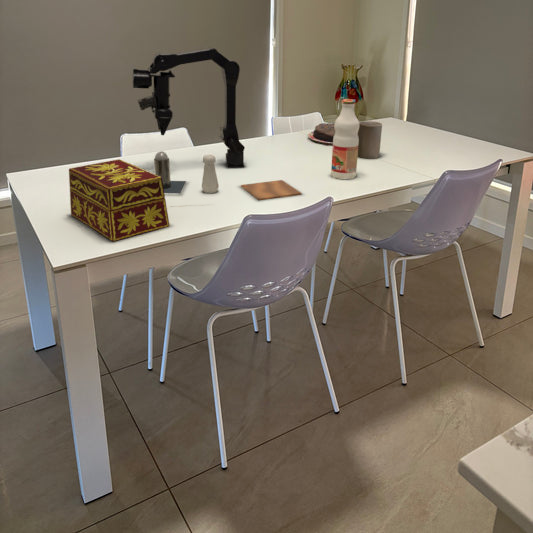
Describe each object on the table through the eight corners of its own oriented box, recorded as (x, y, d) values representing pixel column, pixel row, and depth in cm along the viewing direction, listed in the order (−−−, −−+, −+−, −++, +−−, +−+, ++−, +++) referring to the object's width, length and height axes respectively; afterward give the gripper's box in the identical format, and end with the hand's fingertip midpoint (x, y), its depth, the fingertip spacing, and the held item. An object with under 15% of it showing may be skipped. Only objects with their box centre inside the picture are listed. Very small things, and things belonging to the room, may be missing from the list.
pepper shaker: (170, 184, 209) (168, 149, 204) (170, 188, 204) (168, 153, 199) (156, 184, 208) (153, 150, 203) (155, 189, 204) (153, 154, 198)
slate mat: (186, 182, 213) (186, 181, 212) (180, 195, 200) (180, 193, 200) (147, 181, 213) (147, 180, 213) (139, 194, 200) (139, 192, 200)
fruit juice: (357, 179, 218) (363, 102, 206) (332, 179, 218) (336, 102, 206) (354, 172, 226) (360, 97, 214) (329, 172, 226) (334, 97, 214)
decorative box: (70, 214, 182) (63, 167, 175) (124, 202, 193) (120, 157, 186) (112, 241, 163) (107, 190, 157) (170, 226, 174) (166, 177, 168)
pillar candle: (353, 157, 246) (356, 121, 240) (359, 152, 254) (362, 116, 248) (376, 160, 243) (380, 123, 236) (381, 154, 251) (385, 118, 244)
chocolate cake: (371, 146, 263) (373, 132, 260) (309, 146, 263) (310, 131, 260) (363, 132, 288) (364, 118, 285) (306, 131, 288) (306, 118, 285)
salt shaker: (202, 190, 205) (200, 153, 199) (218, 190, 205) (217, 153, 200) (201, 195, 200) (200, 158, 194) (218, 195, 200) (217, 157, 194)
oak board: (281, 181, 215) (281, 180, 215) (301, 194, 202) (301, 192, 201) (241, 186, 209) (240, 185, 209) (258, 200, 196) (258, 198, 196)
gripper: (137, 84, 220) (137, 126, 227) (140, 92, 204) (141, 137, 210) (167, 86, 223) (167, 127, 230) (172, 94, 207) (172, 138, 213)
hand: (161, 132), depth 221 cm, fingers open, 9 cm apart
